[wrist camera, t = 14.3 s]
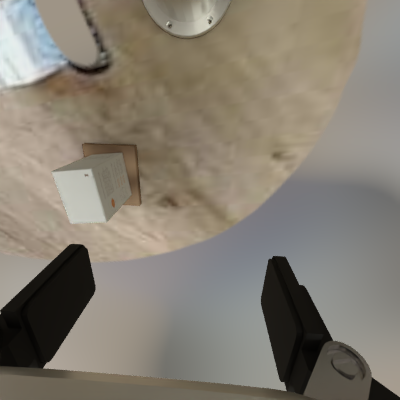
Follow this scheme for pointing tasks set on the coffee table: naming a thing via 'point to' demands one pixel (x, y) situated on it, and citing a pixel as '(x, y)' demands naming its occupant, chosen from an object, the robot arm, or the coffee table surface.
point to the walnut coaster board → (130, 164)
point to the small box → (93, 187)
